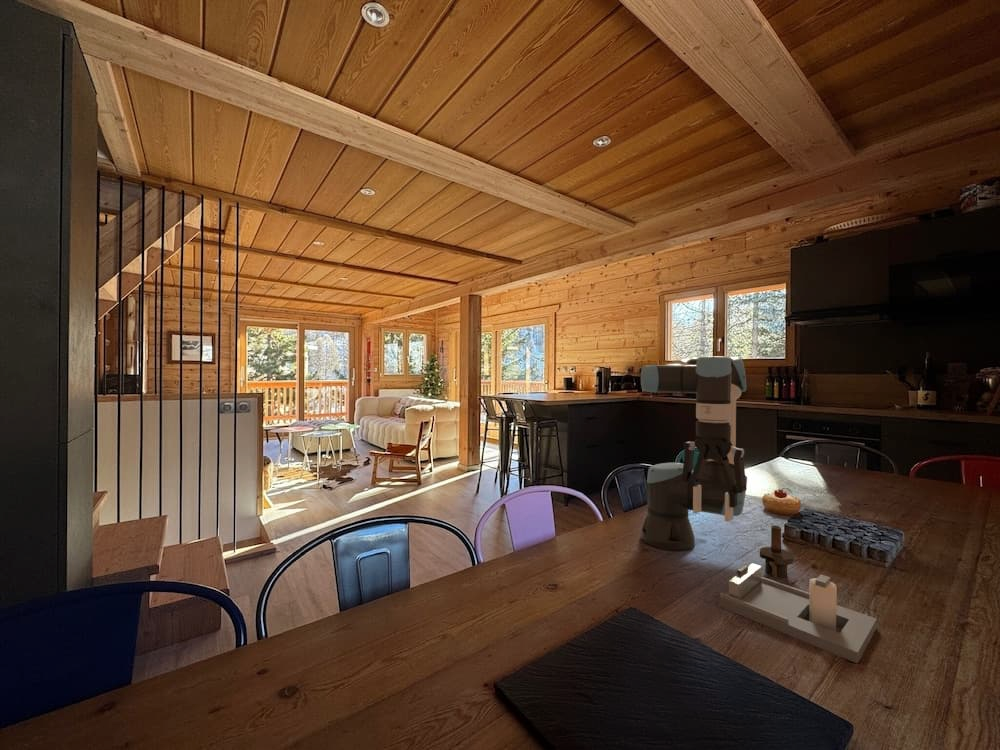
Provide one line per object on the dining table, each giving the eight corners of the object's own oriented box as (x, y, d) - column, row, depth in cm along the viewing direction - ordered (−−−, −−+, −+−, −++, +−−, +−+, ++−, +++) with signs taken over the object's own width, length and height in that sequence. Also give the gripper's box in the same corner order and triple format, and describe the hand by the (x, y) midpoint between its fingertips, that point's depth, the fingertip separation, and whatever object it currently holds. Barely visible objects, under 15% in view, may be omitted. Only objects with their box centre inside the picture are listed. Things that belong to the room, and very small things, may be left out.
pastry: (764, 505, 166) (763, 482, 166) (801, 510, 159) (801, 486, 159) (761, 512, 156) (760, 488, 156) (800, 518, 149) (800, 492, 149)
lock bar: (728, 596, 95) (728, 576, 95) (751, 577, 103) (751, 559, 103) (738, 600, 93) (738, 579, 93) (761, 580, 102) (761, 562, 102)
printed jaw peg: (806, 626, 88) (806, 577, 87) (812, 618, 90) (813, 571, 90) (832, 637, 84) (833, 586, 84) (838, 628, 87) (839, 579, 87)
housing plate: (718, 606, 95) (718, 593, 95) (747, 582, 105) (748, 571, 105) (857, 663, 77) (857, 648, 77) (876, 628, 87) (876, 614, 87)
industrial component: (773, 564, 115) (773, 520, 115) (800, 576, 108) (801, 529, 108) (748, 570, 112) (748, 524, 111) (774, 583, 105) (775, 535, 105)
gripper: (666, 418, 108) (666, 508, 109) (751, 426, 93) (751, 531, 94) (681, 415, 113) (681, 502, 114) (764, 423, 98) (764, 523, 99)
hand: (712, 515), depth 104 cm, fingers open, 7 cm apart
